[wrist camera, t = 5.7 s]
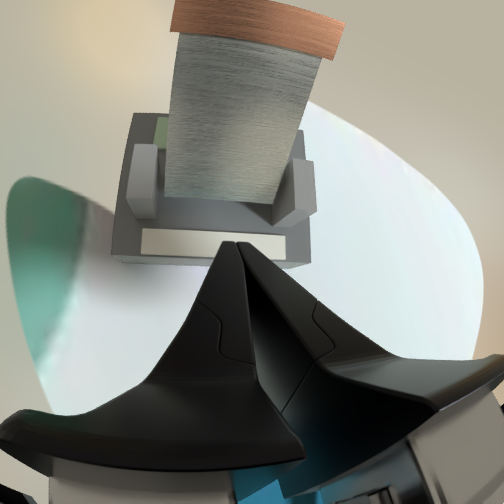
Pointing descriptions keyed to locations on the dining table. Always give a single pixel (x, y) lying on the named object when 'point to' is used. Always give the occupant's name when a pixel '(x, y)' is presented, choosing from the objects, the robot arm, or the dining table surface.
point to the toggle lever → (240, 94)
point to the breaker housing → (205, 209)
